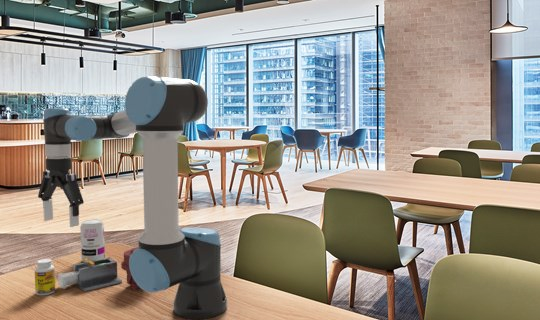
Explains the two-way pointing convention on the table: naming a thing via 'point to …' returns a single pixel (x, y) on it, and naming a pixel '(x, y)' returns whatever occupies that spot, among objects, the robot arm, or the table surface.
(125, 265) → the mechanical component
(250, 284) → the table surface
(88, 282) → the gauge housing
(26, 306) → the table surface
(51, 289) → the supplement bottle
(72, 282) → the plunger
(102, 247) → the supplement can
